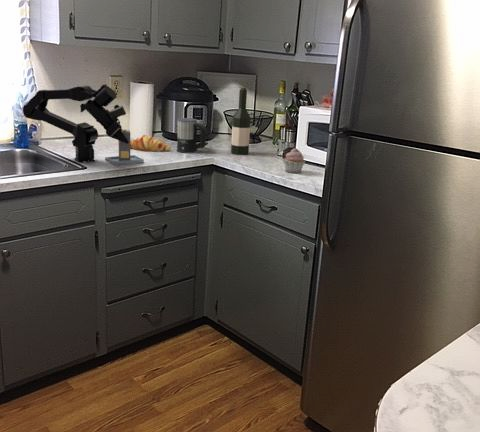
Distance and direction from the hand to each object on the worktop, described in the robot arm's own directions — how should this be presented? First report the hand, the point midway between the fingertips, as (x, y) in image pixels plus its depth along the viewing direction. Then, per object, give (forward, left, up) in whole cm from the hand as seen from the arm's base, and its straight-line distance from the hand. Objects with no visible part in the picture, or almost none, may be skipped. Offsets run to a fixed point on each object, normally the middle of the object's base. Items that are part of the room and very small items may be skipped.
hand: (127, 140), depth 231 cm
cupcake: (+56, -40, -9) cm, 69 cm away
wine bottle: (+56, -1, -9) cm, 57 cm away
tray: (-1, 0, -9) cm, 9 cm away
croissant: (+19, +21, -9) cm, 30 cm away
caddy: (-1, +1, -8) cm, 8 cm away
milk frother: (+38, +13, -9) cm, 41 cm away
